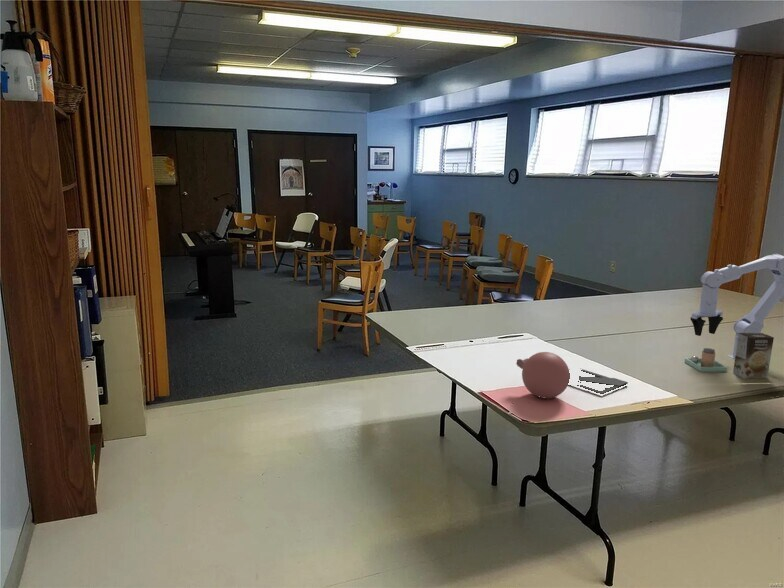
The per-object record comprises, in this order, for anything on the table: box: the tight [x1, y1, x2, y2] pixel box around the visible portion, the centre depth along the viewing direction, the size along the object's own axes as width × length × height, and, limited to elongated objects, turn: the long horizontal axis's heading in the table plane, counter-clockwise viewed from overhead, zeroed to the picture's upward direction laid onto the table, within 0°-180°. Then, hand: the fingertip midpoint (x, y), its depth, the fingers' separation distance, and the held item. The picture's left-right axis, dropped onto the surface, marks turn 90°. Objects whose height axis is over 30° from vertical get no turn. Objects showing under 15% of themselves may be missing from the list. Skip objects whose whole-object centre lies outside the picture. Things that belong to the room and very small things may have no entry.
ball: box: [689, 355, 700, 364], centre depth 215 cm, size 3×3×3 cm
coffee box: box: [732, 332, 775, 379], centre depth 201 cm, size 9×6×16 cm
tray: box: [684, 357, 728, 373], centre depth 212 cm, size 10×11×2 cm
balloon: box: [515, 351, 570, 399], centre depth 185 cm, size 15×20×15 cm
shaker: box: [700, 347, 716, 367], centre depth 211 cm, size 4×4×7 cm
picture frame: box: [577, 368, 629, 394], centre depth 197 cm, size 16×2×21 cm
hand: (704, 334), depth 222 cm, fingers open, 7 cm apart
